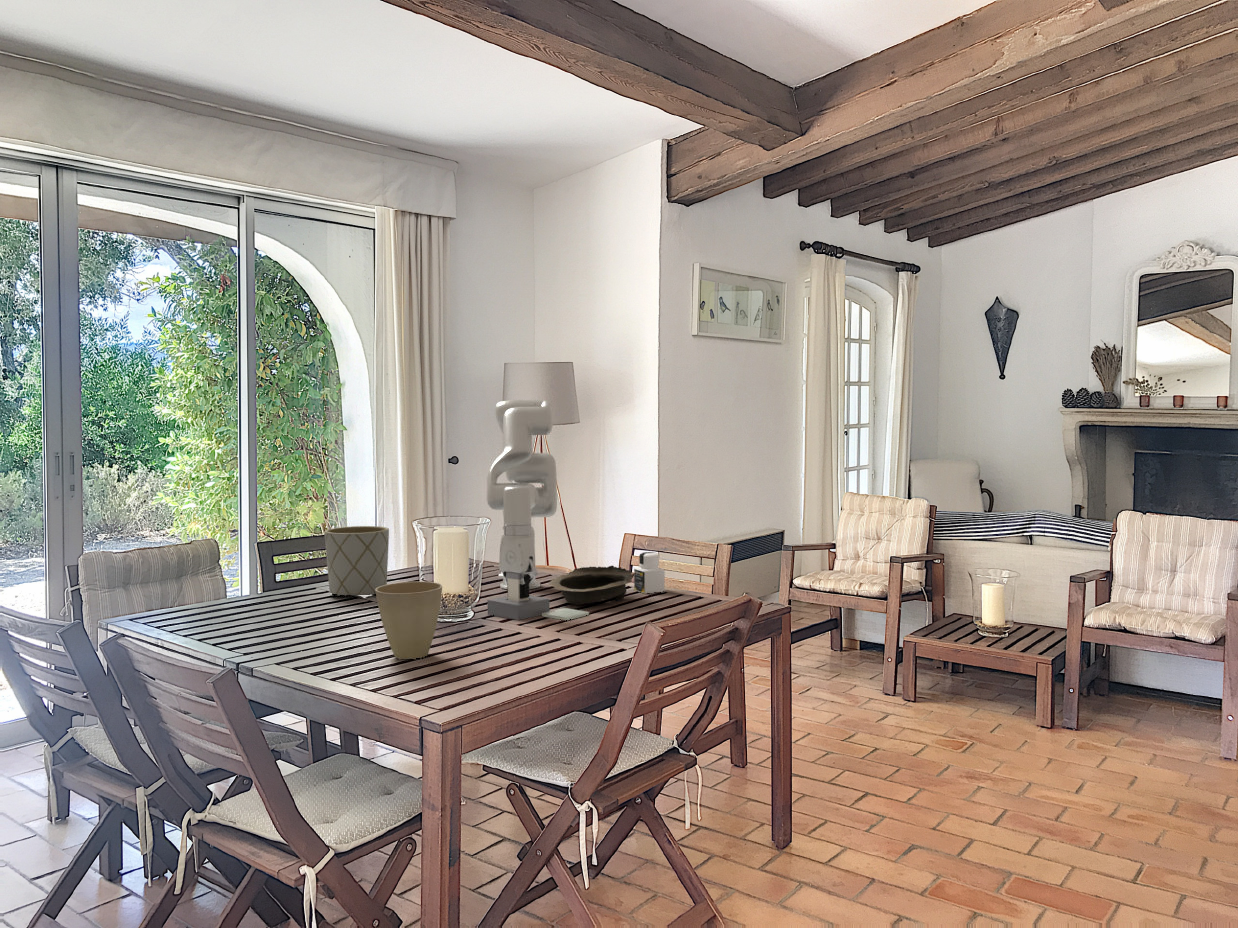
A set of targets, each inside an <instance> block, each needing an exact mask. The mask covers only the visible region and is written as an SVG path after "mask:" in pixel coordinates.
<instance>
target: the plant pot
mask: <svg viewBox="0 0 1238 928" xmlns="http://www.w3.org/2000/svg"><path fill="white" fill-rule="evenodd" d="M375 590H376V595H375V596H376V600H377V601H376V602H377V606H378V610H379V615H380V619H381V622H382V625H383V629H384V632H385V635H386V640H387V641H388V644H389V646H390V649H391V651H392V655H393V657H396V658H395V659H397V658H400V659H399V660H401V659H414V660H417V659H416V658H420V659H422V657H423V658H426V657H427V656H428V655H429V652H430V650H431V647H432V646H431V645H432V643H433V640H434V636H435V632H436V628H437V625H438V624H437V623H438V620H439V614H440V608H441V602H442V594H443V585H442V584H441V583H439V582H434V581H402V582H401V581H400V582H394V583H387V585H383V586H380V587H378V588H376V589H375ZM425 656H426V657H425Z"/></svg>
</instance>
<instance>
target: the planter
mask: <svg viewBox="0 0 1238 928" xmlns="http://www.w3.org/2000/svg"><path fill="white" fill-rule="evenodd" d="M323 534H324V544H325V545H324V546H325V554H326V555H325V557H326V568H327V576H328V589H329V594H330V593H332V594H337V595H336V596H340V595H345V596H344V597H347V596H346V595H370V594H376V590H375V589H376V588H378V587H380V586H383V585H387V584H388V567H389V565H388V564H389V563H388V561H389V546H390V545H389V543H390V542H389V541H390V540H389V538H390V529H389V528H388V527H385V526H377V525H375V526H374V525H360V526H359V525H356V526H342V527H333V528H329V529H326V530H324V533H323Z"/></svg>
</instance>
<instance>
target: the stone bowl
mask: <svg viewBox="0 0 1238 928" xmlns="http://www.w3.org/2000/svg"><path fill="white" fill-rule="evenodd" d="M634 574H635V573H634V572H632V571H631V570H630V569H629V570H627V569H626V568H622V567H621V566H620V567H617V566H614V565H609V566H589V567H588V566H587V567H585V566H583V567H578V568H574V569H573V570H572V571H569V573H567V574H561V575H559V576H557V577H555V578H553V579H552V580H550V581H549V585H550V586H552V587H553V588H555V589H557V590H560V592H561V595H562V597H563V598H564V600H565V602H566V603H567V604H571V605H575V606H582V605H583V604H584V605H585V604H591V603H597V602H600V601H604V600H605V601H609V600H610V599H611V600H615V601H618V602H620V601H623V600H624V599H625V596H626V594H627V588H626V587H627V586H626V585H627V584H630V583H631V582H632V580H633V579H634V578H633V577H634Z"/></svg>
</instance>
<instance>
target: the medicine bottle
mask: <svg viewBox="0 0 1238 928" xmlns="http://www.w3.org/2000/svg"><path fill="white" fill-rule="evenodd" d="M638 558H639V559H638V560H639V563H638V564H639V567H638V566H637V567H634V568H633V574H634V573H635V574H634V576H633V577H634V578H633V581H634V587H633V588H634V589H633V590H634V591H636V592H638V593H640V592H641V594H643V595H648V594H647V593H650V594H655V593H654V592H661V593H664V592H665V586H666V583H665V577H666V576H665V569H664V568H662V567H659V566H660V555H659V553H657V552H654V551H645V552H641V553H640V554H639V556H638ZM663 591H664V592H663Z"/></svg>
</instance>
